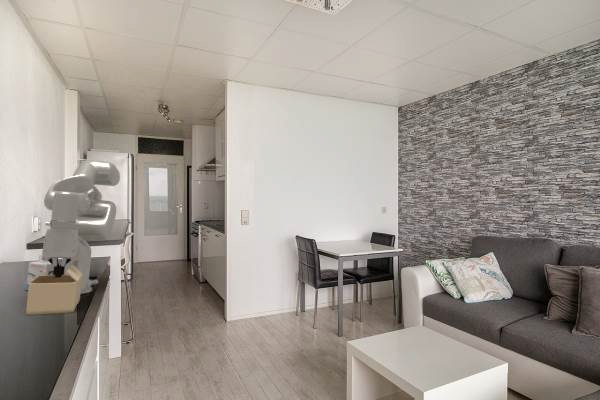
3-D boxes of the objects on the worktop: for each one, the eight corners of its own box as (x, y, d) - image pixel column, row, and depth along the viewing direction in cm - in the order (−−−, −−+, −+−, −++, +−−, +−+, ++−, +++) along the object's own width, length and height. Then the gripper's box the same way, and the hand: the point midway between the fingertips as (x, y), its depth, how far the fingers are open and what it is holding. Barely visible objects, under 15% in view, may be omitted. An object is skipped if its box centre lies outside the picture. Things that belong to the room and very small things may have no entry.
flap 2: (81, 274, 130) (82, 273, 130) (76, 281, 117) (78, 280, 118) (71, 265, 128) (72, 264, 128) (65, 271, 116) (66, 270, 116)
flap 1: (30, 283, 112) (28, 281, 112) (39, 275, 124) (38, 274, 124) (44, 272, 113) (43, 271, 113) (52, 265, 126) (51, 264, 125)
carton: (37, 302, 124) (40, 275, 125) (79, 300, 130) (82, 274, 131) (25, 315, 110) (29, 284, 111) (73, 312, 116) (76, 282, 116)
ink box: (25, 291, 139) (28, 255, 140) (35, 288, 144) (39, 254, 145) (44, 293, 138) (47, 256, 139) (54, 290, 143) (57, 255, 144)
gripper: (35, 225, 115) (29, 279, 114) (86, 227, 122) (81, 278, 121) (40, 224, 122) (35, 275, 121) (88, 226, 128) (84, 274, 127)
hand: (58, 276), depth 121 cm, fingers closed
